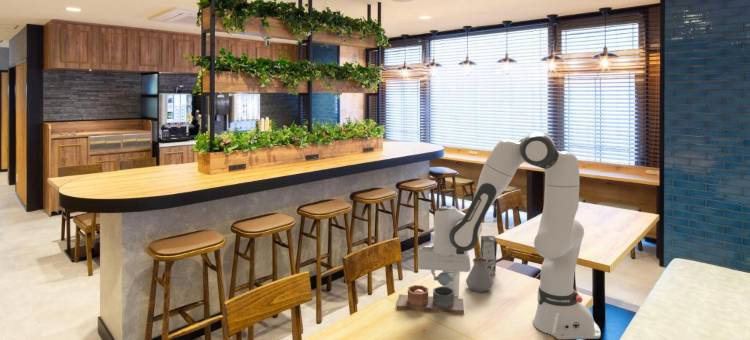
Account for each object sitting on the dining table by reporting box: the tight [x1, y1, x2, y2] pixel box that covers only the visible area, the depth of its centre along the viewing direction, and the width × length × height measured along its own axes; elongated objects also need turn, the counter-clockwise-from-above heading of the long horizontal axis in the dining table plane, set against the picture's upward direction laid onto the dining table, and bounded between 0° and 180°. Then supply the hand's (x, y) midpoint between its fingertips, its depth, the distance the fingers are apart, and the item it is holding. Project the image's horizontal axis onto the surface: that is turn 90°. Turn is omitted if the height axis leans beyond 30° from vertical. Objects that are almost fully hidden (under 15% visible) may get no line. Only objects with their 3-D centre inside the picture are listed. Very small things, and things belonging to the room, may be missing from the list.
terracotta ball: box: [413, 289, 424, 293], centre depth 179 cm, size 5×5×5 cm
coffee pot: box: [465, 252, 515, 293], centre depth 195 cm, size 21×12×15 cm, turn 101°
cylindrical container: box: [441, 270, 461, 298], centre depth 188 cm, size 7×7×25 cm
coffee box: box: [479, 235, 498, 276], centre depth 213 cm, size 9×6×16 cm
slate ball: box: [437, 272, 450, 286], centre depth 177 cm, size 5×5×5 cm
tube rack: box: [396, 284, 465, 315], centre depth 179 cm, size 26×10×6 cm, turn 81°
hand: (443, 280), depth 177 cm, fingers closed on slate ball, 5 cm apart
